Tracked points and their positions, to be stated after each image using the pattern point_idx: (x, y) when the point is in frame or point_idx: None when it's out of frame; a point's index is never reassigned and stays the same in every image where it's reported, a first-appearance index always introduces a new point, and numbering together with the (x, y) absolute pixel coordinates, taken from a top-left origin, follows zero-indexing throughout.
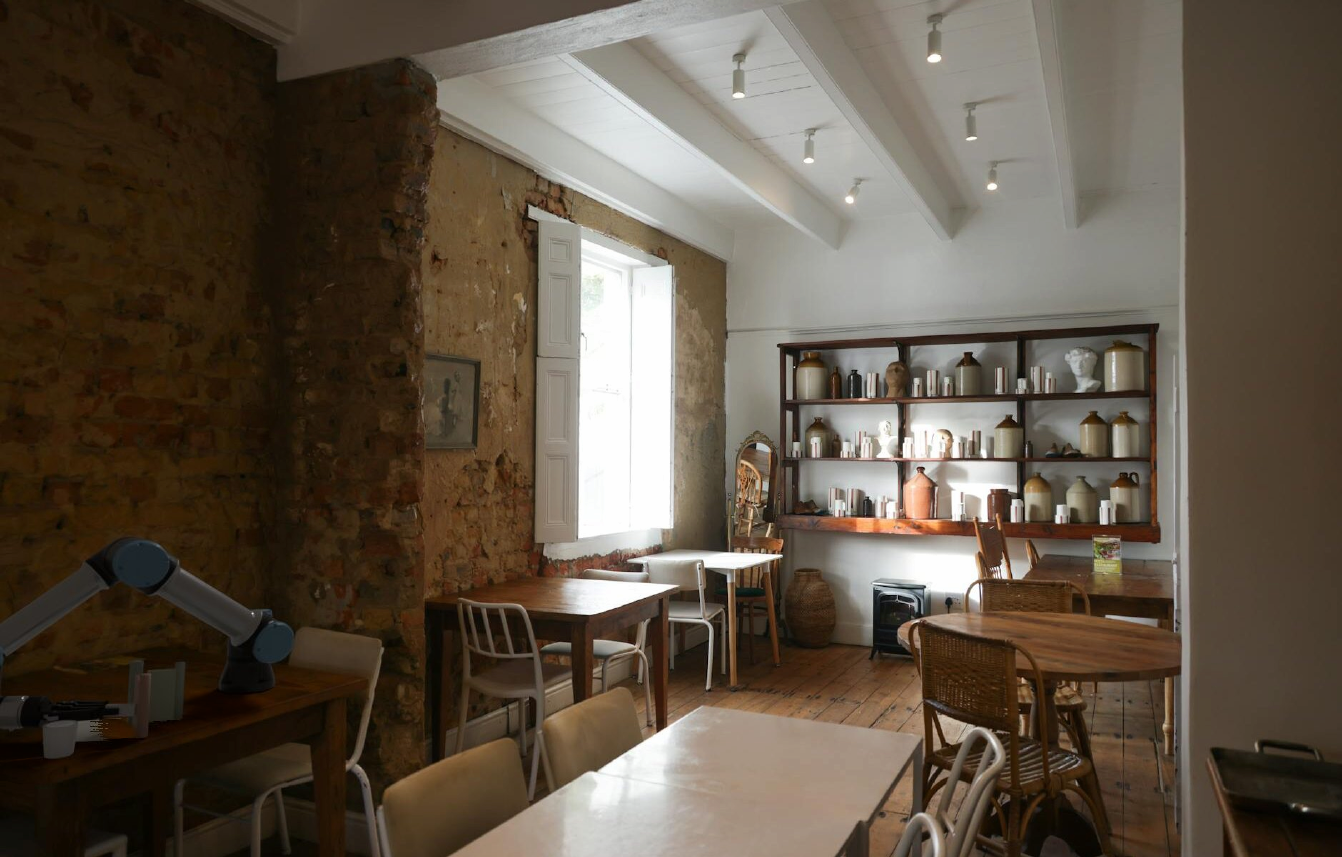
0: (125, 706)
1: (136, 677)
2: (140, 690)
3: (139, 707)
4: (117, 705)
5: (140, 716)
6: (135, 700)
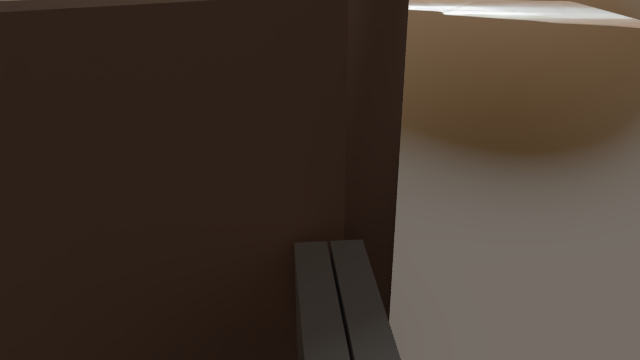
0: (380, 301)
1: (15, 15)
2: (403, 61)
3: (392, 221)
4: (396, 354)
5: (389, 282)
6: (104, 308)
